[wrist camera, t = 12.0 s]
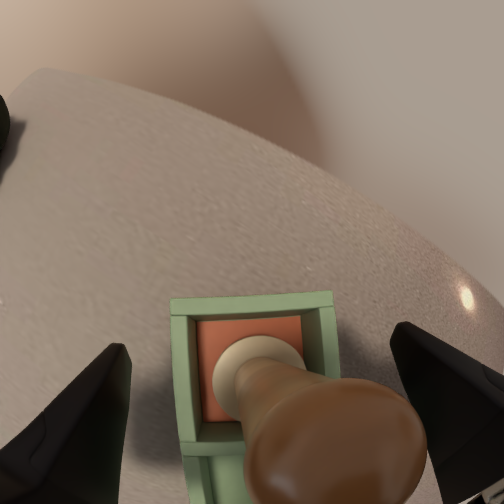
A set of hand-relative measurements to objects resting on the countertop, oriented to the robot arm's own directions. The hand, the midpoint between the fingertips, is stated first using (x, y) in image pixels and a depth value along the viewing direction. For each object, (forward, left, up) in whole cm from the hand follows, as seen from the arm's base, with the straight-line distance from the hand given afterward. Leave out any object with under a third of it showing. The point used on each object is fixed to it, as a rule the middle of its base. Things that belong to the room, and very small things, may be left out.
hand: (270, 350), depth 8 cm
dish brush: (0, +1, -7) cm, 7 cm away
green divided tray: (-2, +5, -8) cm, 9 cm away
